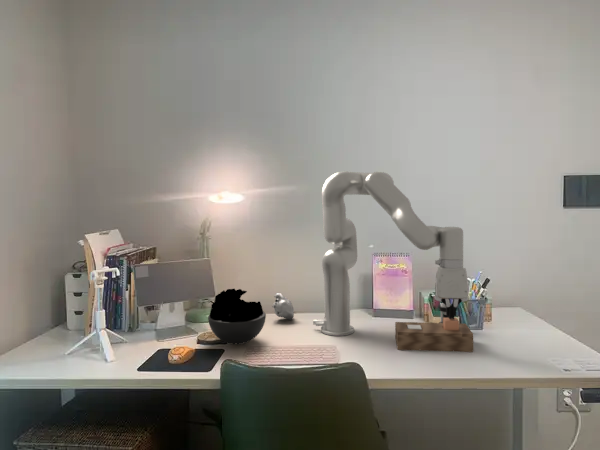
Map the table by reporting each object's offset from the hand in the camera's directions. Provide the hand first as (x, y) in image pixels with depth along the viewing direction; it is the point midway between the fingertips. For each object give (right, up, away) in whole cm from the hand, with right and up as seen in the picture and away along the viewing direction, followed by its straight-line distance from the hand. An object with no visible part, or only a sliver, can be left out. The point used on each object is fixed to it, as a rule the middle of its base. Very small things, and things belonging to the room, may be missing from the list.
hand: (451, 317), depth 157 cm
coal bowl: (-73, -10, +7) cm, 74 cm away
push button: (+5, -8, +18) cm, 21 cm away
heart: (-57, -8, +34) cm, 67 cm away
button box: (-6, -10, +2) cm, 11 cm away
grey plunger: (-12, -9, +2) cm, 15 cm away
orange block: (0, -7, 0) cm, 7 cm away
